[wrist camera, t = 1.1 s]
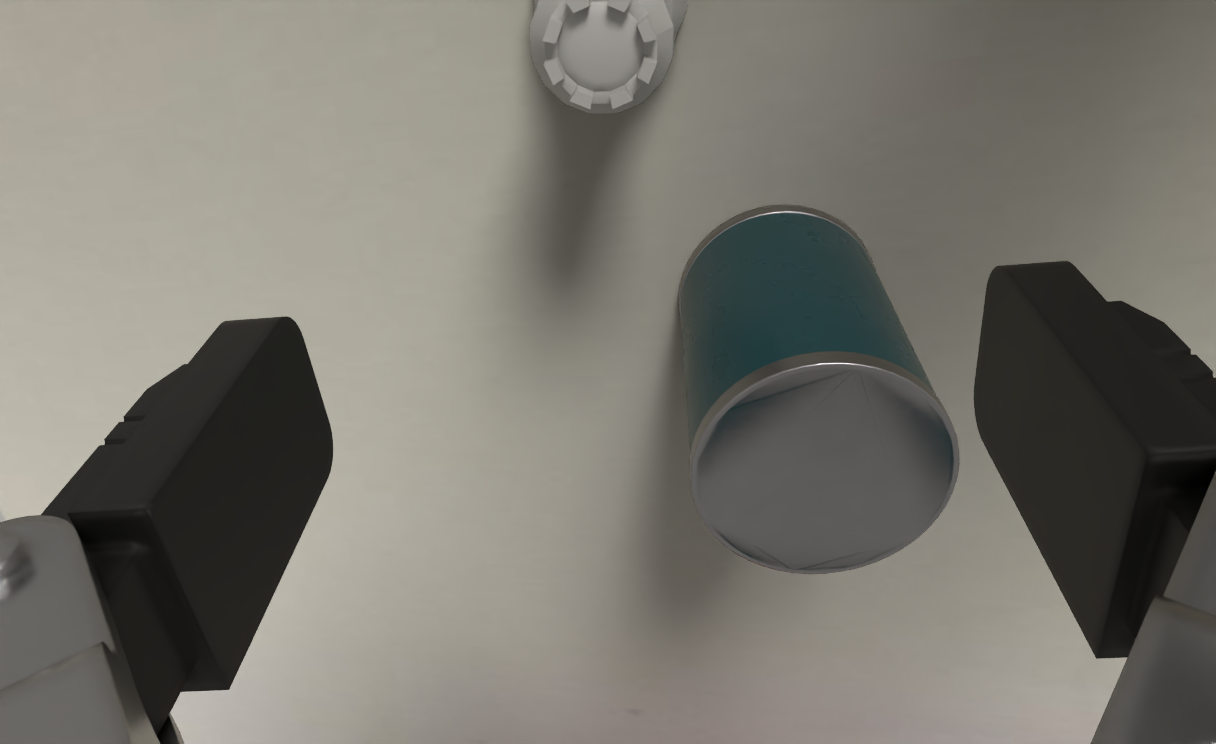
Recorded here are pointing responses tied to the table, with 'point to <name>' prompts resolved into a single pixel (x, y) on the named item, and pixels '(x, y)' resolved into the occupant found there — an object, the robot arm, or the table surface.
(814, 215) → the tin can
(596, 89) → the rook chess piece
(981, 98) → the table surface
